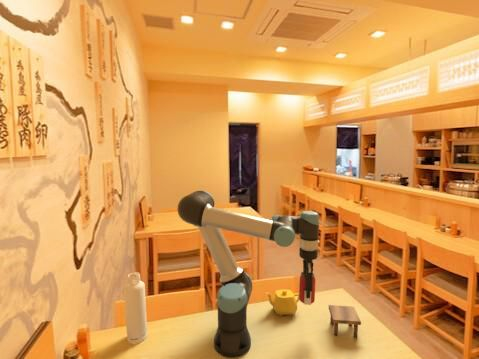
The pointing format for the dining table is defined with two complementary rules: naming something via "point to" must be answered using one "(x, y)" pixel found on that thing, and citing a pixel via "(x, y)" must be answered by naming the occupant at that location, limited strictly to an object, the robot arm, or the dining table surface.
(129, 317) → the bottle
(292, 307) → the teapot
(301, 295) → the beer can
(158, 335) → the dining table surface
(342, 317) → the stool
